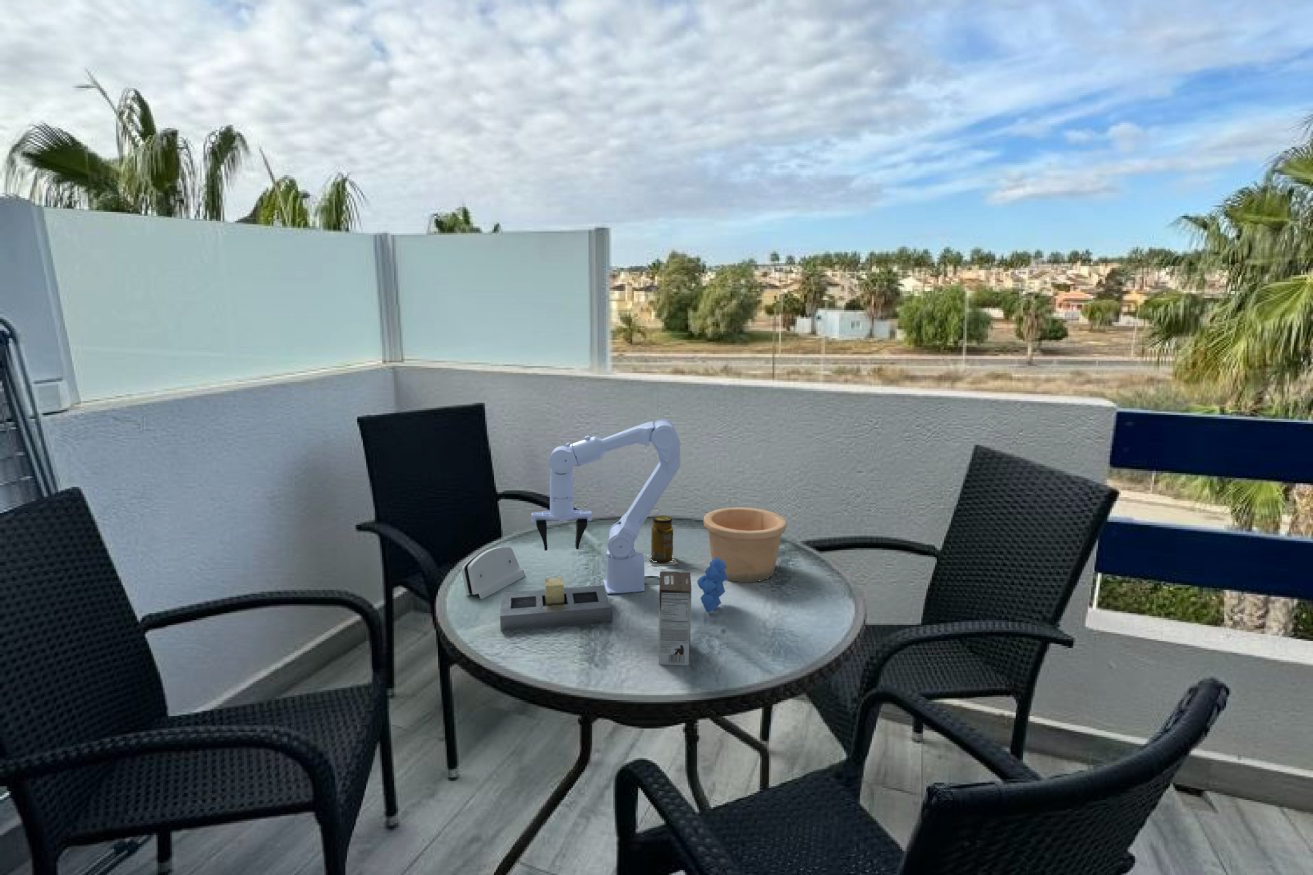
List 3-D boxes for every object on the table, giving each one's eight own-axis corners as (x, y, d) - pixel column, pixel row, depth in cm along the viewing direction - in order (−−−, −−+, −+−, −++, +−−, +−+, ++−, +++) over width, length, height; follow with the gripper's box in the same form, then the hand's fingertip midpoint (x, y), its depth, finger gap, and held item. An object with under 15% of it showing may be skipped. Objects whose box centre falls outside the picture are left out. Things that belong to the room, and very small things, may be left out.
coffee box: (658, 642, 138) (659, 570, 135) (689, 642, 138) (690, 570, 135) (657, 665, 129) (658, 588, 126) (690, 666, 129) (691, 589, 126)
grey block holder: (604, 598, 158) (603, 585, 158) (610, 621, 147) (610, 607, 146) (502, 606, 154) (501, 592, 153) (500, 631, 142) (500, 616, 142)
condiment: (671, 553, 188) (671, 513, 186) (678, 564, 180) (679, 522, 178) (646, 555, 187) (646, 514, 184) (652, 566, 178) (652, 524, 176)
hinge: (480, 599, 157) (468, 560, 157) (467, 601, 160) (455, 562, 160) (526, 575, 172) (515, 539, 171) (513, 577, 174) (502, 541, 174)
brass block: (563, 609, 153) (562, 577, 151) (564, 617, 149) (563, 584, 147) (545, 611, 152) (545, 578, 150) (546, 619, 148) (545, 586, 146)
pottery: (767, 593, 162) (770, 538, 159) (688, 575, 173) (689, 523, 170) (795, 564, 181) (797, 515, 178) (722, 549, 191) (723, 502, 188)
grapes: (705, 594, 161) (706, 548, 159) (731, 600, 158) (733, 553, 156) (686, 614, 151) (687, 565, 148) (714, 620, 148) (715, 570, 146)
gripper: (531, 501, 154) (532, 555, 157) (593, 499, 157) (592, 553, 160) (531, 492, 161) (531, 545, 164) (590, 491, 164) (589, 542, 167)
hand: (561, 548), depth 162 cm, fingers open, 7 cm apart
